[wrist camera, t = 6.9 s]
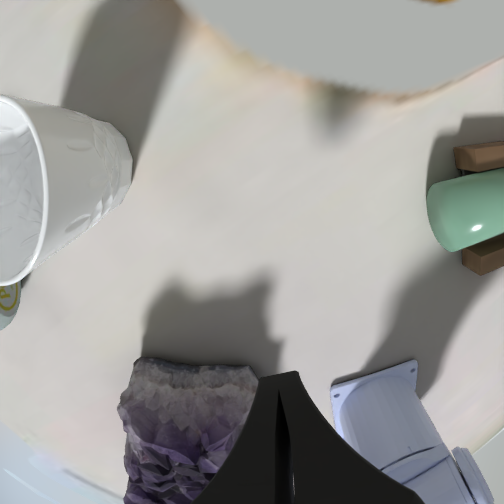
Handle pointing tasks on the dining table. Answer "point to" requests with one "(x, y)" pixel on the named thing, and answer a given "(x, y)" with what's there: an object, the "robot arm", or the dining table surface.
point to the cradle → (474, 161)
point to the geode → (180, 426)
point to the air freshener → (9, 303)
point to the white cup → (54, 180)
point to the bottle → (467, 209)
